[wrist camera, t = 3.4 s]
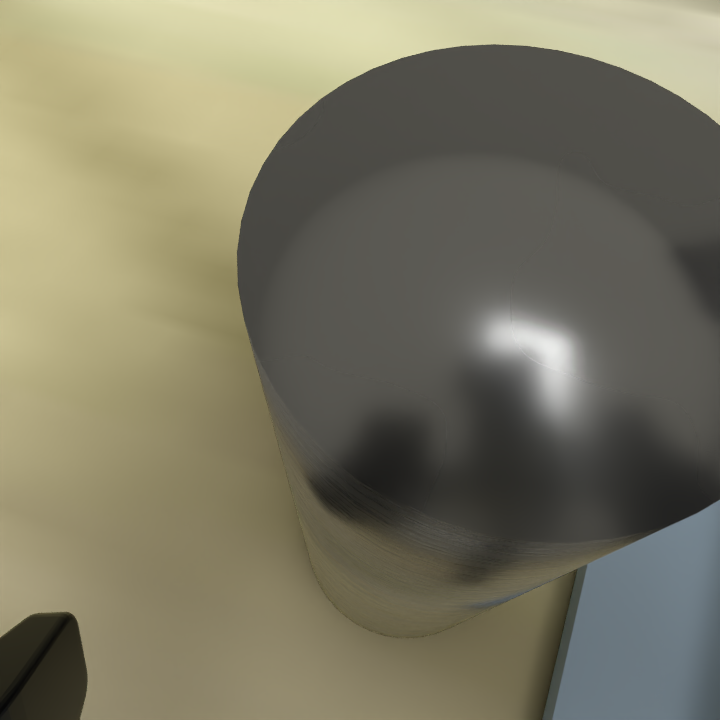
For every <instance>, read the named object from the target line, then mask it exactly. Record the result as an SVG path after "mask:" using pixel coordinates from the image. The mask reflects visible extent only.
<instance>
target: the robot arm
mask: <svg viewBox="0 0 720 720" xmlns="http://www.w3.org/2000/svg"><path fill="white" fill-rule="evenodd" d="M86 691H87V668H86V663H85V658H84V653H83V647H82V642H81V637H80V632H79V627H78V623H77V620H76V618H75V616H74V615H73V614H71V613H69V612H52V613H37V614H33V615H30V616H29V617H27V618H26V619H24V620H23V621H22V622H20V623H19V624H18V625H16V626H15V627H14V628H12V629H11V630H10V631H8V632H7V633H6V634H4V635H3V636H2V637H0V720H80V716H81V712H82V709H83V705H84V701H85V697H86Z"/></svg>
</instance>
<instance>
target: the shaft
mask: <svg viewBox="0 0 720 720" xmlns="http://www.w3.org/2000/svg"><path fill="white" fill-rule="evenodd" d="M237 266H238V288H239V294H240V299H241V305H242V311H243V316H244V321H245V324H246V328H247V332H248V335H249V339H250V343H251V346H252V350H253V353H254V357H255V361H256V364H257V368H258V372H259V375H260V379H261V383H262V386H263V390H264V394H265V397H266V401H267V404H268V408H269V412H270V415H271V419H272V423H273V426H274V430H275V434H276V437H277V441H278V445H279V448H280V452H281V455H282V459H283V463H284V466H285V470H286V474H287V477H288V481H289V485H290V488H291V492H292V496H293V499H294V503H295V506H296V510H297V514H298V517H299V521H300V525H301V528H302V532H303V536H304V539H305V543H306V546H307V550H308V554H309V557H310V561H311V564H312V567H313V570H314V573H315V576H316V578H317V580H318V582H319V584H320V586H321V588H322V590H323V591H324V593H325V594H326V596H327V597H328V599H329V600H330V601H331V602H332V603H333V604H334V606H335V607H336V608H337V609H338V610H339V611H340V612H341V613H343V614H344V615H345V616H346V617H347V618H349V619H350V620H352V621H353V622H355V623H356V624H358V625H359V626H361V627H363V628H365V629H367V630H369V631H372V632H375V633H378V634H381V635H385V636H390V637H396V638H416V637H424V636H428V635H432V634H436V633H439V632H441V631H444V630H446V629H448V628H451V627H453V626H455V625H457V624H459V623H461V622H464V621H466V620H468V619H470V618H472V617H474V616H476V615H479V614H481V613H483V612H485V611H487V610H489V609H492V608H494V607H496V606H498V605H500V604H502V603H504V602H507V601H509V600H511V599H513V598H515V597H517V596H520V595H522V594H524V593H526V592H528V591H530V590H532V589H535V588H537V587H539V586H541V585H543V584H545V583H548V582H550V581H552V580H554V579H556V578H558V577H561V576H563V575H565V574H567V573H569V572H571V571H573V570H576V569H578V568H580V567H582V566H584V565H586V564H589V563H591V562H593V561H595V560H597V559H599V558H601V557H604V556H606V555H608V554H610V553H612V552H614V551H617V550H619V549H621V548H623V547H625V546H627V545H630V544H632V543H634V542H636V541H638V540H640V539H642V538H645V537H647V536H649V535H651V534H653V533H655V532H658V531H660V530H662V529H664V528H666V527H668V526H670V525H673V524H675V523H677V522H679V521H681V520H683V519H686V518H688V517H690V516H692V515H694V514H696V513H698V512H700V511H702V510H704V509H705V508H707V507H709V506H710V505H712V504H714V503H715V502H717V501H719V500H720V125H718V124H717V123H716V122H715V121H714V120H712V119H711V118H710V117H709V116H708V115H706V114H705V113H703V112H702V111H700V110H699V109H697V108H696V107H694V106H693V105H691V104H690V103H688V102H687V101H686V100H684V99H683V98H681V97H679V96H678V95H676V94H674V93H672V92H670V91H668V90H667V89H665V88H663V87H661V86H659V85H658V84H656V83H654V82H652V81H650V80H648V79H645V78H643V77H641V76H638V75H636V74H634V73H631V72H629V71H627V70H624V69H622V68H620V67H617V66H613V65H610V64H607V63H604V62H601V61H598V60H595V59H592V58H589V57H585V56H580V55H576V54H572V53H567V52H563V51H559V50H552V49H544V48H537V47H530V46H516V45H474V46H460V47H453V48H446V49H439V50H432V51H428V52H424V53H420V54H416V55H412V56H408V57H404V58H401V59H398V60H395V61H393V62H390V63H387V64H384V65H382V66H379V67H376V68H374V69H372V70H370V71H368V72H366V73H364V74H362V75H360V76H358V77H356V78H354V79H352V80H350V81H348V82H346V83H344V84H343V85H341V86H340V87H338V88H337V89H335V90H334V91H332V92H331V93H329V94H328V95H326V96H325V97H323V98H322V99H320V100H319V101H318V102H317V103H316V104H315V105H313V106H312V107H311V108H310V109H309V110H308V111H306V112H305V113H304V114H303V115H302V116H301V117H299V118H298V120H297V121H296V122H295V123H294V124H293V125H292V126H291V127H290V128H289V130H288V131H287V132H286V133H285V134H284V135H283V136H282V137H281V139H280V140H279V141H278V143H277V144H276V146H275V147H274V149H273V150H272V152H271V153H270V155H269V156H268V158H267V159H266V161H265V162H264V164H263V165H262V168H261V170H260V172H259V174H258V176H257V178H256V180H255V182H254V184H253V187H252V189H251V191H250V194H249V197H248V200H247V204H246V207H245V211H244V214H243V217H242V221H241V228H240V235H239V243H238V250H237Z"/></svg>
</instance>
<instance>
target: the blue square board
mask: <svg viewBox="0 0 720 720" xmlns="http://www.w3.org/2000/svg"><path fill="white" fill-rule="evenodd" d="M542 720H720V500H719V501H717V502H715V503H714V504H712V505H710V506H709V507H707V508H705V509H704V510H702V511H700V512H698V513H696V514H694V515H692V516H690V517H688V518H686V519H683V520H681V521H679V522H677V523H675V524H673V525H670V526H668V527H666V528H664V529H662V530H660V531H658V532H655V533H653V534H651V535H649V536H647V537H645V538H642V539H640V540H638V541H636V542H634V543H632V544H630V545H627V546H625V547H623V548H621V549H619V550H617V551H614V552H612V553H610V554H608V555H606V556H604V557H601V558H599V559H597V560H595V561H593V562H591V563H589V564H586V565H584V566H582V567H580V568H578V569H577V573H576V578H575V582H574V586H573V591H572V595H571V599H570V603H569V608H568V612H567V616H566V621H565V625H564V629H563V633H562V638H561V642H560V646H559V651H558V655H557V659H556V663H555V668H554V672H553V676H552V681H551V685H550V689H549V693H548V698H547V702H546V706H545V710H544V715H543V719H542Z"/></svg>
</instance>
